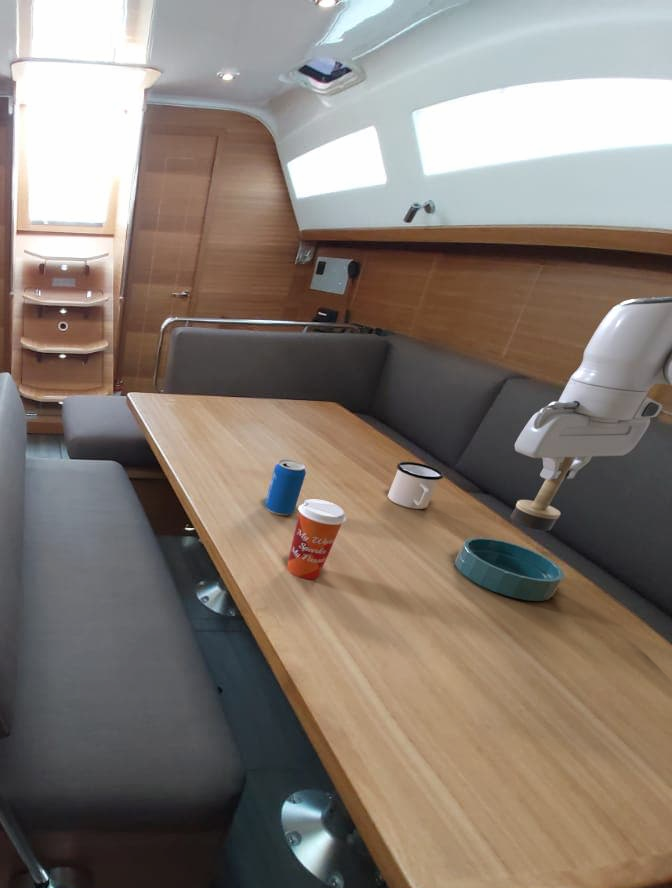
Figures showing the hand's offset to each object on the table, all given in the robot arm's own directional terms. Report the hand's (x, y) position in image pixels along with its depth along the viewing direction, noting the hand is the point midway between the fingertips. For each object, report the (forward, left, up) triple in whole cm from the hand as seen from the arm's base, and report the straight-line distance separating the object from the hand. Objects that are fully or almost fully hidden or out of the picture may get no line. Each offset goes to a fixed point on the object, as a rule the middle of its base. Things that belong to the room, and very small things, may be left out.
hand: (555, 477), depth 87 cm
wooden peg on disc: (0, 0, -9) cm, 9 cm away
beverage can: (+39, -12, -22) cm, 46 cm away
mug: (+8, -30, -22) cm, 38 cm away
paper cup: (+36, +13, -22) cm, 44 cm away
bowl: (0, 0, -22) cm, 22 cm away
